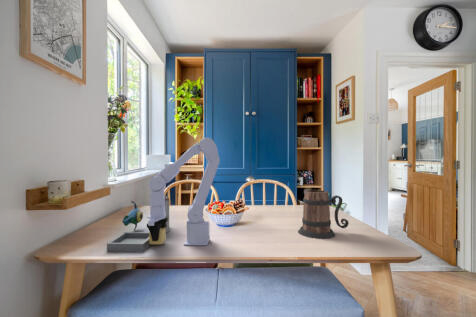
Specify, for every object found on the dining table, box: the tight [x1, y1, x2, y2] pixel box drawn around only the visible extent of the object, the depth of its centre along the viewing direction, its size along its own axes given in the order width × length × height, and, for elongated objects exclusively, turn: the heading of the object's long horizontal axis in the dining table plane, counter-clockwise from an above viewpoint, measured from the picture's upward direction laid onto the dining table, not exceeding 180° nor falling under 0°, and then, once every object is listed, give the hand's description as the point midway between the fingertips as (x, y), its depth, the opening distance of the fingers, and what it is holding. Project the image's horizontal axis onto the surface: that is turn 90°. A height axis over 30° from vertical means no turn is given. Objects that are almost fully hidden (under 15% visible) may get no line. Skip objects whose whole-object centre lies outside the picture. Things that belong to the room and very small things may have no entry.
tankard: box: [297, 189, 349, 240], centre depth 113 cm, size 24×17×20 cm
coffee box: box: [165, 195, 170, 233], centre depth 118 cm, size 9×6×16 cm
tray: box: [106, 231, 151, 252], centre depth 98 cm, size 14×14×3 cm
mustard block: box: [148, 228, 167, 245], centre depth 98 cm, size 5×5×5 cm
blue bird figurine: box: [121, 200, 144, 231], centre depth 115 cm, size 13×12×6 cm
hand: (157, 238), depth 98 cm, fingers closed on mustard block, 5 cm apart
